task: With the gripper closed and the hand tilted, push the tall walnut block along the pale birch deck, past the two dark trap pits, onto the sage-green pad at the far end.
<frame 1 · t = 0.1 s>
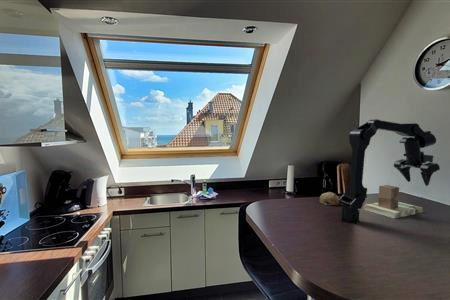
hand: (417, 183, 124), 15 cm above the breakfast bar, tool pointing down, fingers open, 9 cm apart
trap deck: (392, 211, 134), on the breakfast bar
walnut block: (387, 207, 132), point 2 cm above the breakfast bar, touching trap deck
bread roll: (329, 203, 147), on the breakfast bar
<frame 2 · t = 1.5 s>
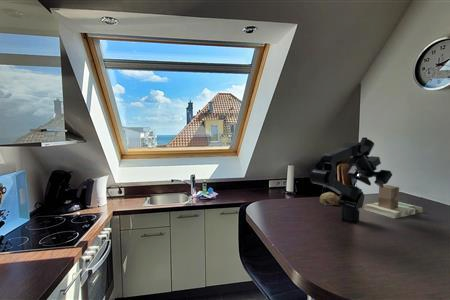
hand: (376, 186, 127), 14 cm above the breakfast bar, tool tilted 45°, fingers open, 6 cm apart
nothing on the breakfast bar moved.
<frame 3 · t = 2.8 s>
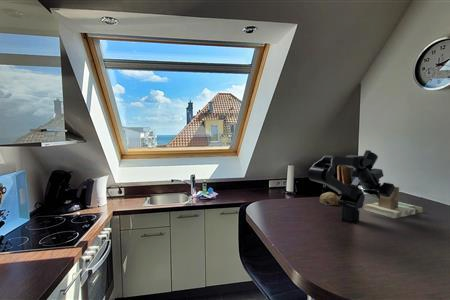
hand: (379, 197, 128), 8 cm above the breakfast bar, tool tilted 45°, fingers closed
nothing on the breakfast bar moved.
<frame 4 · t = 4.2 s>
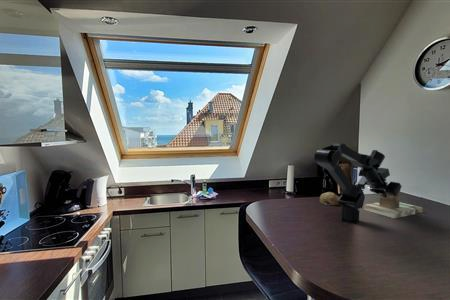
hand: (385, 196, 130), 8 cm above the breakfast bar, tool tilted 45°, fingers closed, pressing on walnut block
walnut block: (389, 206, 132), point 3 cm above the breakfast bar, touching gripper
everything else where it was.
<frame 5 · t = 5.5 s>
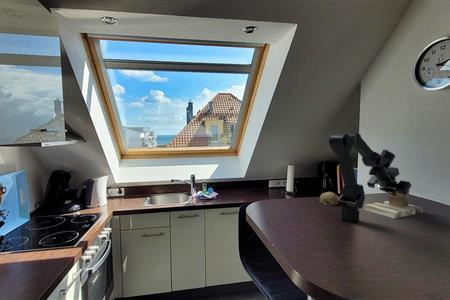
hand: (394, 195, 134), 8 cm above the breakfast bar, tool tilted 45°, fingers closed, pressing on walnut block
walnut block: (398, 205, 135), point 3 cm above the breakfast bar, touching gripper
everything else where it was.
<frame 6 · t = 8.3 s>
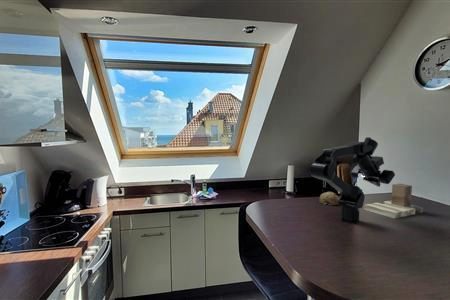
hand: (379, 185, 128), 13 cm above the breakfast bar, tool tilted 45°, fingers closed
walnut block: (400, 204, 136), point 2 cm above the breakfast bar, touching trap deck
everything else where it was.
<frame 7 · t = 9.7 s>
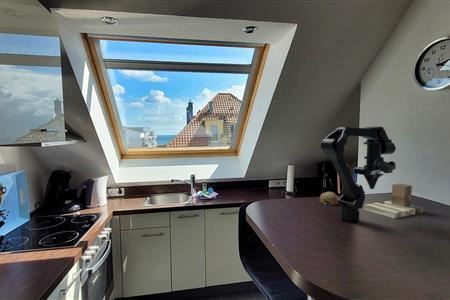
hand: (372, 188, 123), 13 cm above the breakfast bar, tool pointing down, fingers closed
nothing on the breakfast bar moved.
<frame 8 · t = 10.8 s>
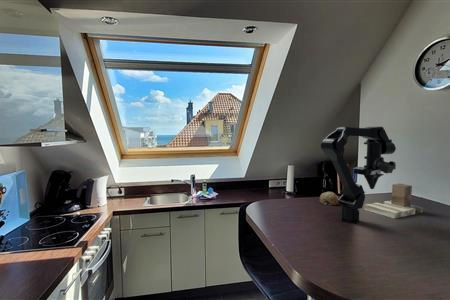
hand: (372, 188, 123), 13 cm above the breakfast bar, tool pointing down, fingers closed
nothing on the breakfast bar moved.
at the end: walnut block 0.3 cm from the target spot, point 2.5 cm above the breakfast bar; walnut block tilted 0°; walnut block touching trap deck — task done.
